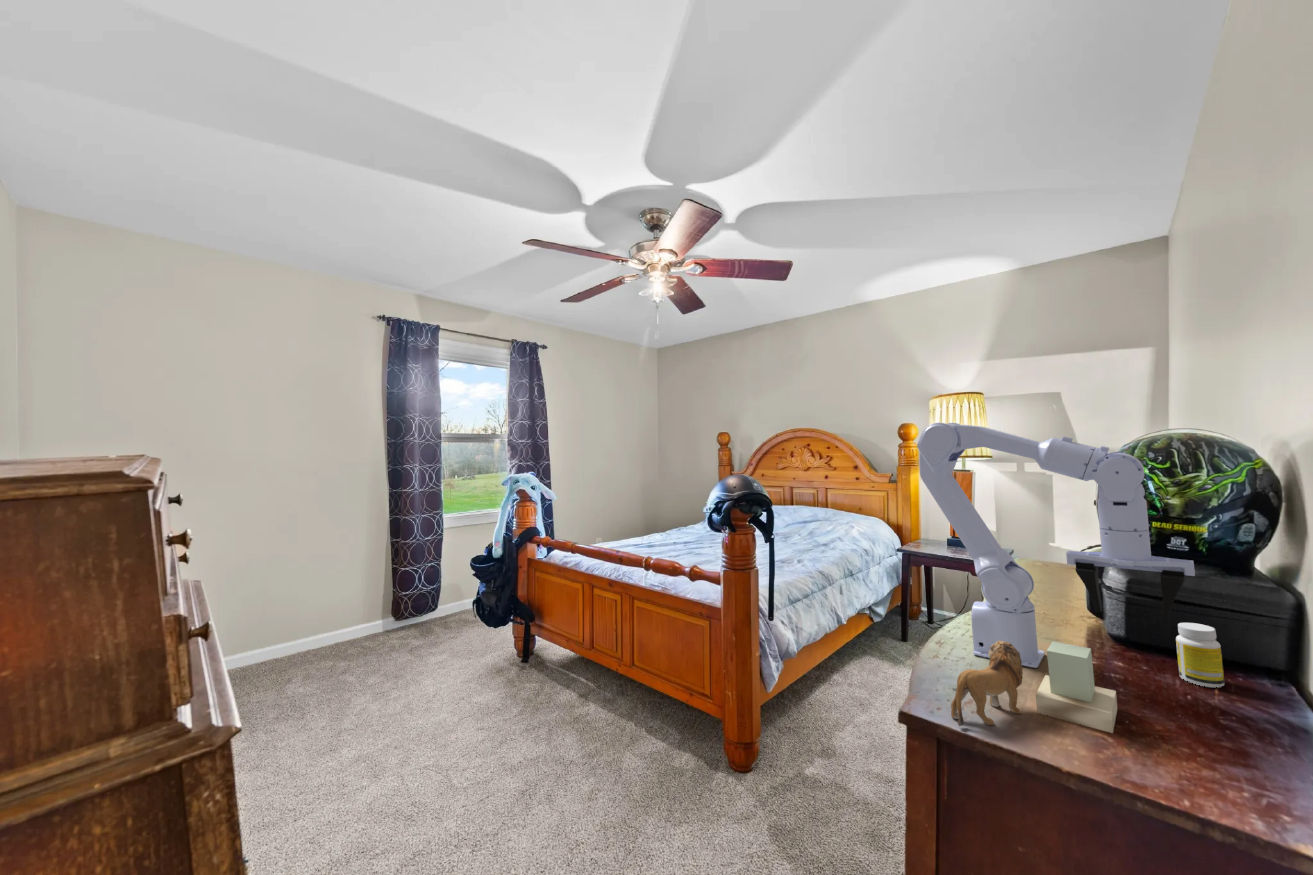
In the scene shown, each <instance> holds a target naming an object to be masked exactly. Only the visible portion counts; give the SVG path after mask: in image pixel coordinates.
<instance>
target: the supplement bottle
mask: <svg viewBox="0 0 1313 875" xmlns="http://www.w3.org/2000/svg"><path fill="white" fill-rule="evenodd" d="M1177 631H1178V635H1176V637H1175V643H1176V646H1175V647H1176V655H1177V666H1178V667H1177V668H1178V675H1179V677H1180V678H1181V679H1182V680H1183V679H1184V681H1185V682H1187V681H1188V682H1187V683H1190V684H1192V683H1193V685H1195V684H1196V685H1197V686H1199V685H1200V687H1204V686H1205V688H1215V689H1216V687H1217V688H1222V686H1223V687H1224V686H1225V676H1224V665H1223V663H1224V662H1223V654H1222V648H1221V647H1222V646H1221V644H1220V643H1219V642H1218V641H1217V637H1218V636H1217V632H1216V631H1217V630H1216V628H1215V627H1213V626H1210V625H1208V624H1207V625H1205V624H1201V623H1195V622H1179V623H1177Z"/></svg>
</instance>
